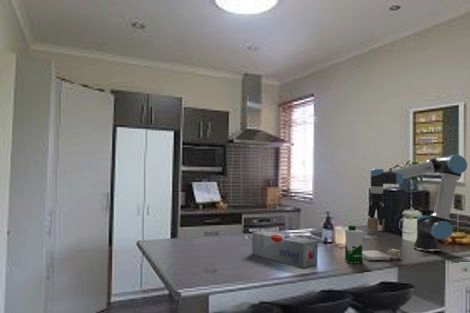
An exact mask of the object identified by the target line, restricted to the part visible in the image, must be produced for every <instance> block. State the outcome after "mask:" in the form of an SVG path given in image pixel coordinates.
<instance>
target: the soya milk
mask: <svg viewBox="0 0 470 313" xmlns="http://www.w3.org/2000/svg"><path fill="white" fill-rule="evenodd" d="M344 232H345V233H344V235H345V249H344V250H345V253H344V261H345V260H347V261H346V262H348V261H349V262H348V263H350V262H352V263H354V262H363V258H362V251H363V237H364V232H365V231H364V230H361V229H357V227H356V225H348V228H347V229H346V228H345V229H344ZM352 263H351V264H352ZM363 263H364V262H363ZM354 264H355V263H354Z"/></svg>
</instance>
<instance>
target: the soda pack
mask: <svg viewBox="0 0 470 313" xmlns="http://www.w3.org/2000/svg"><path fill="white" fill-rule="evenodd" d="M251 233H252V234H251V235H252V236H251V237H252V238H251V239H252V242H251V248H252V249H251V251H252V252H251V253H252V255H254V256H259V257H262V258H265V259H269V260H272V261H276V262H280V263H283V264H286V265H290V266H292V267H296V268H301V269H307V268H310V267H311V268H312V267H314V266H315V267H316V266H318V253H319V252H318V251H319V248H318V243H319V241H318V240H317V239H316V240H315V239H312V238H305V237H301V236H296V235H289V234H285V233H281V232H274V231H270V230H261V231H254V232H251Z"/></svg>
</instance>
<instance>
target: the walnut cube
mask: <svg viewBox="0 0 470 313" xmlns="http://www.w3.org/2000/svg"><path fill="white" fill-rule="evenodd" d="M385 222H386V221H385V219H383V220H382V230H377V225H378V217H375V218H370V217H368V218H367V229H368V230H371V231H375V232H378V231H379V232H380V231H381V232H384V231H385Z"/></svg>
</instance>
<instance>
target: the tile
mask: <svg viewBox="0 0 470 313" xmlns="http://www.w3.org/2000/svg"><path fill="white" fill-rule="evenodd" d="M362 257H365V258H368V259H381V258H391V256H389V255H387V253H384V252H381V251H379V250H362Z"/></svg>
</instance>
